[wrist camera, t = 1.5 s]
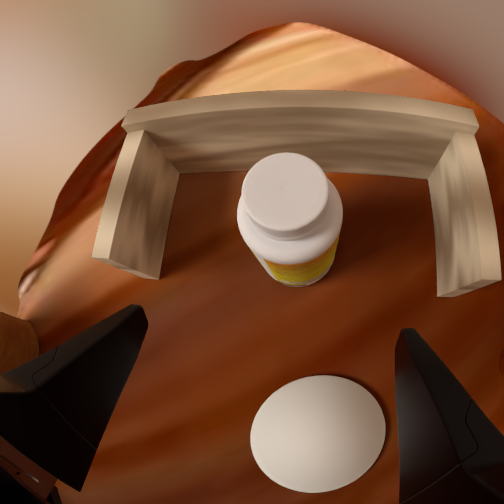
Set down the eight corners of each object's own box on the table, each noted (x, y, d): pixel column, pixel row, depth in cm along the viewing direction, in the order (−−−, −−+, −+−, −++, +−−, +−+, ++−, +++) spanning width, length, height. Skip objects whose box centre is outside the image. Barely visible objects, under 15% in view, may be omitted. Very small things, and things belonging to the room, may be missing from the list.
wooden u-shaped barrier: (454, 296, 19) (510, 276, 11) (143, 277, 24) (82, 253, 17) (440, 165, 22) (472, 109, 14) (168, 160, 27) (127, 110, 20)
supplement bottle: (349, 250, 22) (373, 186, 12) (298, 303, 21) (285, 277, 12) (296, 204, 24) (282, 120, 14) (246, 252, 23) (199, 194, 14)
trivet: (395, 465, 16) (397, 466, 16) (273, 501, 17) (272, 503, 17) (364, 354, 19) (365, 355, 19) (234, 397, 20) (233, 398, 20)
